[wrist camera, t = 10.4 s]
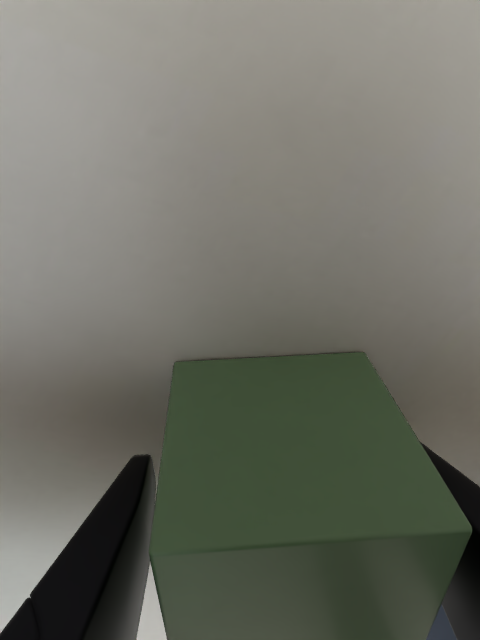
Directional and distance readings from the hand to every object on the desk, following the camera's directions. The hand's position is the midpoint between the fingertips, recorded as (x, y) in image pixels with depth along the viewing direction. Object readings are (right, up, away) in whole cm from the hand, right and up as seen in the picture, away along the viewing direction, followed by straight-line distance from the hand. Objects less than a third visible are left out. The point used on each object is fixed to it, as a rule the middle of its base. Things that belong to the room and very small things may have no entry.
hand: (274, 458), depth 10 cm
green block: (0, +1, +1) cm, 1 cm away
